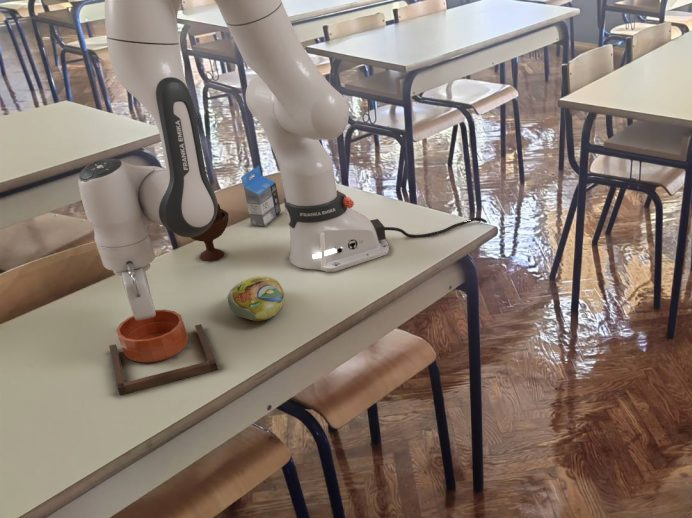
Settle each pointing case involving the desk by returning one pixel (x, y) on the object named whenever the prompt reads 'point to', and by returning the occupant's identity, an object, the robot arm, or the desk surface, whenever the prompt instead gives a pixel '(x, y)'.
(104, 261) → the robot arm
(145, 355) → the bowl
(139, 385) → the frame
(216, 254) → the ice cream bowl
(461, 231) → the desk surface
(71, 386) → the desk surface
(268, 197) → the blue and grey box
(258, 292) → the cell model
